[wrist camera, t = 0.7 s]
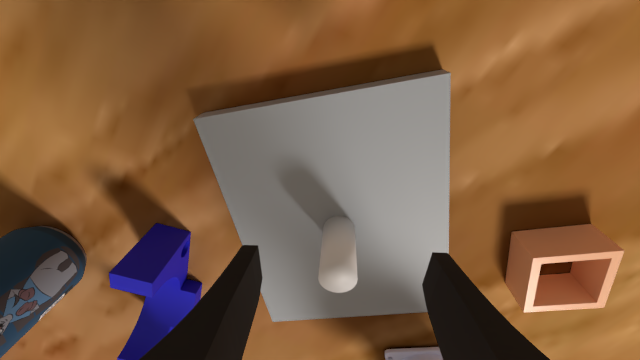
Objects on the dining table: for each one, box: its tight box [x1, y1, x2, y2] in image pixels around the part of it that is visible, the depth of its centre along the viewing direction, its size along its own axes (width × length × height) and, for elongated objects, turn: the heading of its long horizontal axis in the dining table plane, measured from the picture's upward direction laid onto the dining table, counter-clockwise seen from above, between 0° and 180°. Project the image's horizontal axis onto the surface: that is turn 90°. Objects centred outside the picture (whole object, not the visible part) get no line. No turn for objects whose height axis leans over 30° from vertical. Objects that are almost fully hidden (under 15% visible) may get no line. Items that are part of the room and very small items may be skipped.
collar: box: [505, 224, 624, 312], centre depth 23 cm, size 6×6×3 cm
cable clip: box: [109, 223, 202, 360], centre depth 26 cm, size 12×4×6 cm, turn 165°
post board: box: [193, 69, 450, 322], centre depth 21 cm, size 20×16×6 cm
